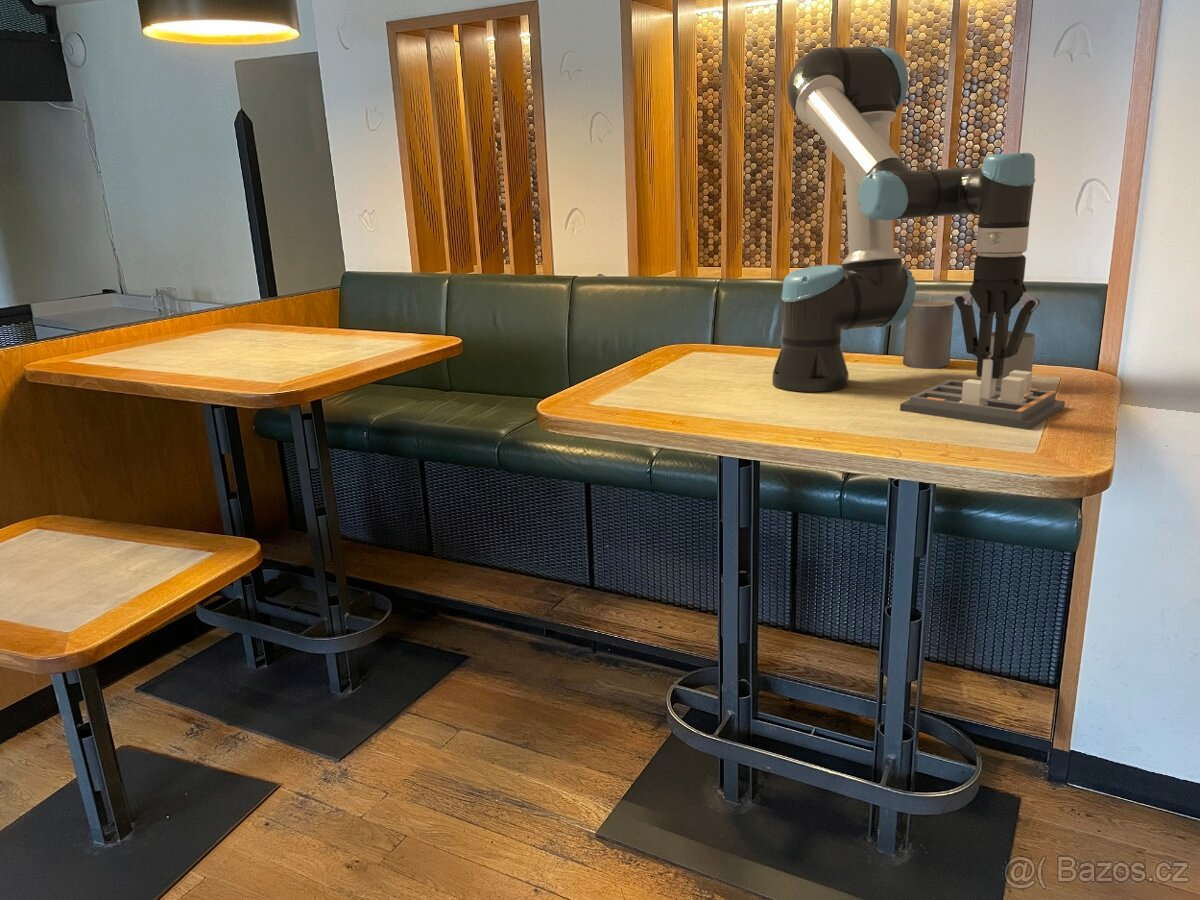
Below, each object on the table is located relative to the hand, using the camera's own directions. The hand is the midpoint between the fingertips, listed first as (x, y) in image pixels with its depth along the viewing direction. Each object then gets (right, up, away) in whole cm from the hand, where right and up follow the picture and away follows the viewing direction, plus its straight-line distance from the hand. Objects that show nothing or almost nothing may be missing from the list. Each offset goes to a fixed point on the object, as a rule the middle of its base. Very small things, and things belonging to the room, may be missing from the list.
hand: (987, 396), depth 146 cm
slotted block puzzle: (+2, -2, +7) cm, 7 cm away
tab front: (-2, -2, +2) cm, 3 cm away
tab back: (+9, 0, +7) cm, 11 cm away
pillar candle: (+6, +10, +44) cm, 45 cm away
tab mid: (+5, -1, +3) cm, 6 cm away
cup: (+14, +3, +22) cm, 26 cm away
